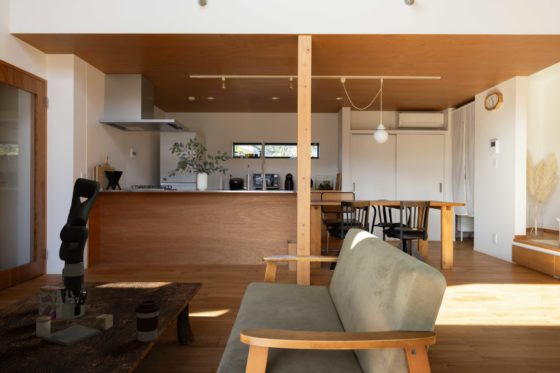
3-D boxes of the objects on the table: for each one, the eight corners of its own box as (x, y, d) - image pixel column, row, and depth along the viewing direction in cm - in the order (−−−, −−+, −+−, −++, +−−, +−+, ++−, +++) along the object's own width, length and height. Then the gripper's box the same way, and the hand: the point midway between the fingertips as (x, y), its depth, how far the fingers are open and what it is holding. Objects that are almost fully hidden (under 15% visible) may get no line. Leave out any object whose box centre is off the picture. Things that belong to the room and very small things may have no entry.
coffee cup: (145, 345, 145) (145, 307, 145) (129, 340, 150) (129, 303, 150) (165, 337, 153) (165, 301, 153) (149, 332, 158) (150, 297, 159)
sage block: (61, 318, 152) (61, 303, 152) (77, 313, 158) (77, 299, 158) (68, 319, 150) (69, 304, 150) (84, 314, 156) (84, 300, 156)
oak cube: (95, 329, 162) (95, 317, 162) (102, 325, 167) (102, 314, 167) (105, 329, 161) (105, 318, 162) (112, 325, 166) (112, 314, 166)
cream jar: (32, 335, 154) (33, 318, 154) (45, 331, 159) (45, 315, 159) (40, 337, 152) (41, 320, 152) (53, 333, 157) (53, 316, 157)
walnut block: (48, 329, 162) (48, 320, 162) (63, 326, 166) (64, 317, 166) (51, 331, 159) (51, 322, 159) (66, 328, 163) (66, 319, 163)
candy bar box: (37, 323, 168) (38, 287, 169) (47, 320, 173) (48, 285, 173) (55, 326, 165) (56, 289, 165) (65, 323, 169) (65, 287, 170)
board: (43, 339, 150) (43, 336, 150) (77, 327, 164) (77, 324, 164) (67, 346, 144) (67, 342, 144) (100, 333, 157) (100, 330, 157)
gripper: (54, 273, 154) (53, 314, 154) (77, 277, 148) (76, 319, 148) (71, 270, 161) (70, 309, 160) (93, 273, 155) (92, 314, 154)
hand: (73, 314), depth 154 cm, fingers closed on sage block, 4 cm apart
